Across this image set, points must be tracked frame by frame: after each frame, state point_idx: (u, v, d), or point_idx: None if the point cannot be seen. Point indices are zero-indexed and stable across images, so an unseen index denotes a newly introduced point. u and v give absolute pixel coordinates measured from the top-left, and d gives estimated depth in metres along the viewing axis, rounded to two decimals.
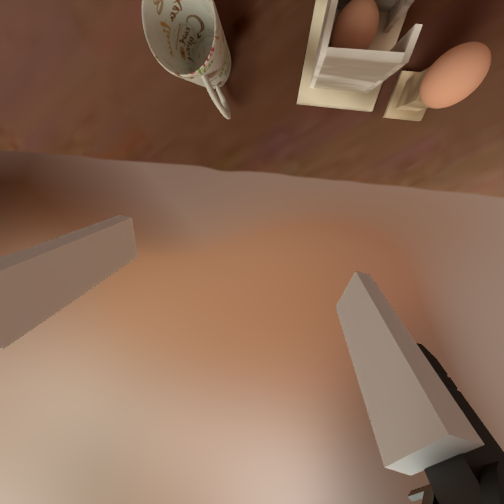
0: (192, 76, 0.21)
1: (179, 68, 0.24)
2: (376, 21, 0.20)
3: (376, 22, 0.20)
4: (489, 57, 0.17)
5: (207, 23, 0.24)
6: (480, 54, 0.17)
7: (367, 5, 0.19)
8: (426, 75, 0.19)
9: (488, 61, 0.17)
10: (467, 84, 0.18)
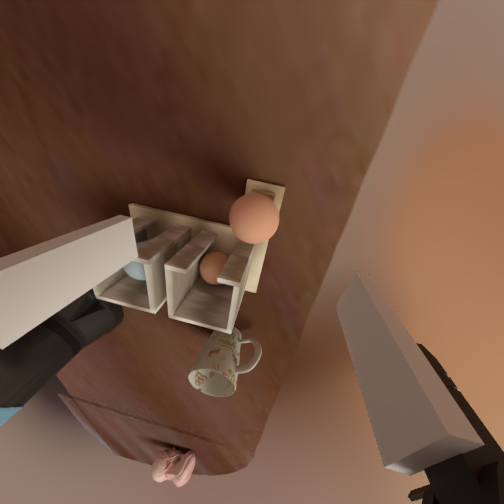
0: (235, 383, 0.30)
1: None
2: (212, 262, 0.25)
3: (212, 262, 0.25)
4: (242, 210, 0.16)
5: None
6: (239, 222, 0.16)
7: (204, 272, 0.26)
8: None
9: (245, 210, 0.16)
10: (262, 224, 0.16)
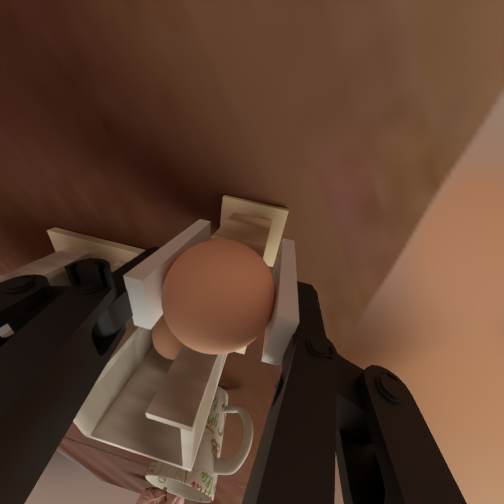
0: (213, 491, 0.21)
1: None
2: (168, 330, 0.15)
3: (169, 330, 0.15)
4: (178, 296, 0.06)
5: None
6: (174, 323, 0.07)
7: (156, 345, 0.16)
8: None
9: (185, 297, 0.06)
10: (230, 333, 0.06)
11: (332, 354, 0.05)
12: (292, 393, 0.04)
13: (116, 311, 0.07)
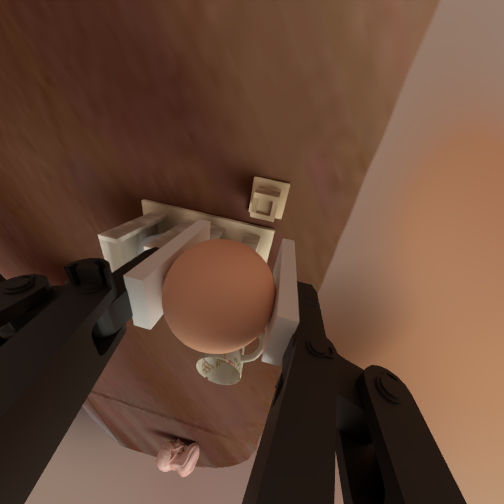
0: (241, 371, 0.32)
1: None
2: None
3: None
4: (179, 295, 0.06)
5: None
6: (174, 322, 0.07)
7: None
8: None
9: (186, 297, 0.06)
10: (230, 332, 0.06)
11: (332, 353, 0.05)
12: (292, 393, 0.04)
13: (116, 311, 0.07)
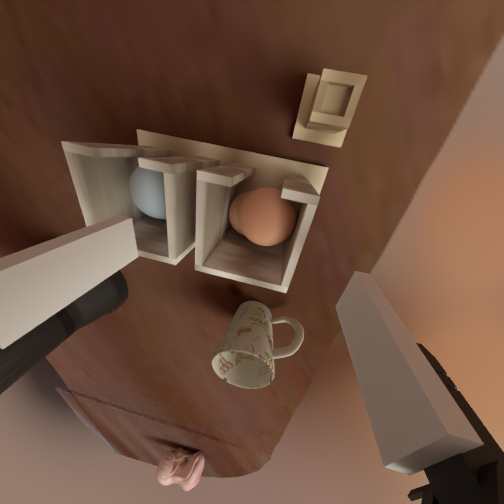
0: None
1: None
2: None
3: None
4: (276, 197, 0.14)
5: None
6: (277, 211, 0.14)
7: (234, 214, 0.19)
8: (262, 245, 0.16)
9: (279, 197, 0.14)
10: (295, 213, 0.15)
11: None
12: None
13: None
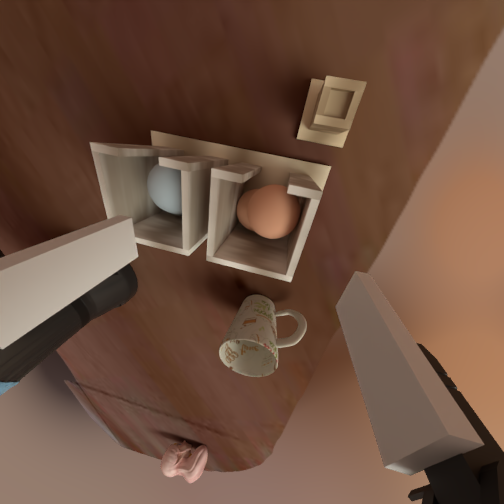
0: None
1: (264, 346, 0.30)
2: None
3: None
4: (282, 193, 0.15)
5: None
6: (283, 205, 0.15)
7: (242, 210, 0.20)
8: (269, 238, 0.17)
9: (285, 193, 0.15)
10: (299, 208, 0.16)
11: None
12: None
13: None
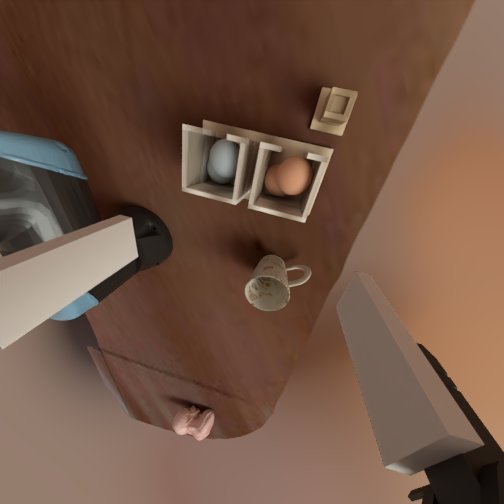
0: (289, 294, 0.33)
1: (277, 292, 0.38)
2: None
3: None
4: (302, 161, 0.23)
5: None
6: (302, 168, 0.23)
7: (270, 177, 0.29)
8: (290, 194, 0.26)
9: (303, 161, 0.24)
10: (312, 172, 0.25)
11: None
12: None
13: None
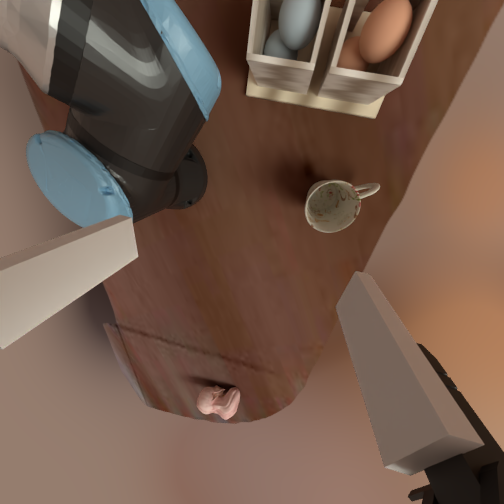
0: (359, 205, 0.29)
1: (335, 217, 0.34)
2: (355, 38, 0.24)
3: (356, 38, 0.24)
4: None
5: None
6: (406, 4, 0.19)
7: (344, 52, 0.24)
8: (380, 54, 0.21)
9: None
10: None
11: None
12: None
13: None
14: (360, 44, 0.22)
